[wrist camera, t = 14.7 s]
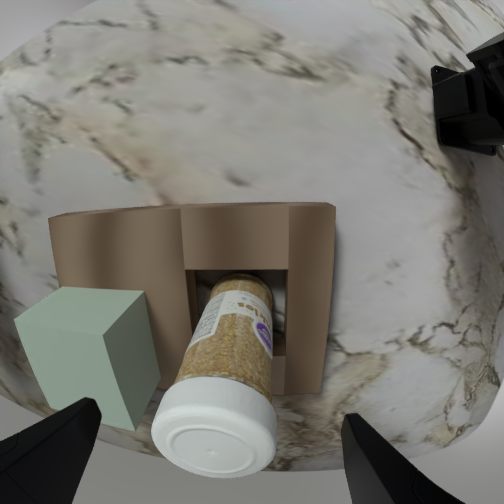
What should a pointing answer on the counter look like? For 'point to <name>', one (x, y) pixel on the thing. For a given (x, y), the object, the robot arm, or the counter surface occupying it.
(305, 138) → the counter surface
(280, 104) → the counter surface
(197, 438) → the sprinkles bottle
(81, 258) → the socket board
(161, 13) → the counter surface
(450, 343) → the counter surface
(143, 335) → the block
